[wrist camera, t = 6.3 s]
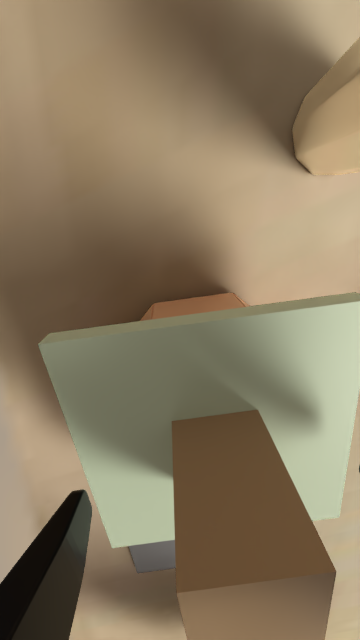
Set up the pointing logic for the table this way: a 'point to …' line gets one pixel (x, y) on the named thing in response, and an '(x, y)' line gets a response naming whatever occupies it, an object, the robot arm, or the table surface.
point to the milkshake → (331, 120)
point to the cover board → (208, 382)
